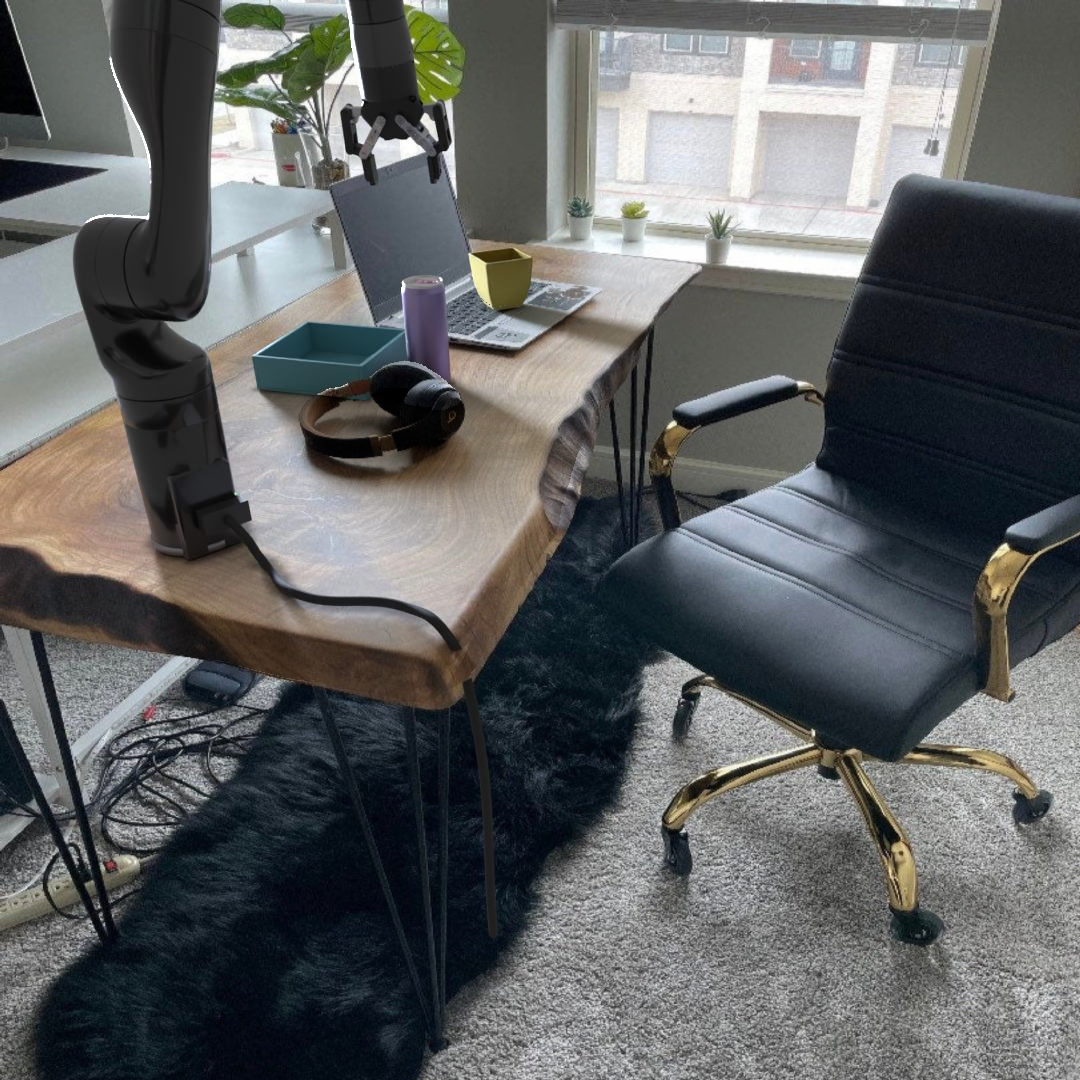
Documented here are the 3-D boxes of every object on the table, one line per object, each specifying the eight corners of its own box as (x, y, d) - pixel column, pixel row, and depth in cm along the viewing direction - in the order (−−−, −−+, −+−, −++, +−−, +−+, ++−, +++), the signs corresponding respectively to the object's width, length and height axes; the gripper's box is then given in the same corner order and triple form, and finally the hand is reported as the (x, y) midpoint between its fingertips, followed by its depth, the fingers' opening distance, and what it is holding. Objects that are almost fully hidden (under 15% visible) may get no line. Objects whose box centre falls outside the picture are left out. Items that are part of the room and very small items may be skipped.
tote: (411, 361, 152) (409, 329, 149) (366, 400, 138) (362, 366, 136) (311, 351, 156) (306, 320, 154) (257, 389, 143) (251, 356, 140)
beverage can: (444, 392, 140) (437, 287, 133) (404, 390, 141) (394, 285, 134) (456, 377, 145) (449, 275, 138) (417, 375, 146) (408, 273, 139)
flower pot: (470, 303, 177) (467, 252, 172) (515, 296, 180) (513, 245, 175) (489, 316, 170) (486, 263, 165) (535, 309, 173) (534, 257, 168)
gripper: (322, 67, 125) (348, 195, 135) (432, 61, 123) (450, 191, 133) (338, 51, 130) (361, 174, 141) (443, 45, 128) (460, 171, 139)
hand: (404, 182), depth 137 cm, fingers open, 8 cm apart
